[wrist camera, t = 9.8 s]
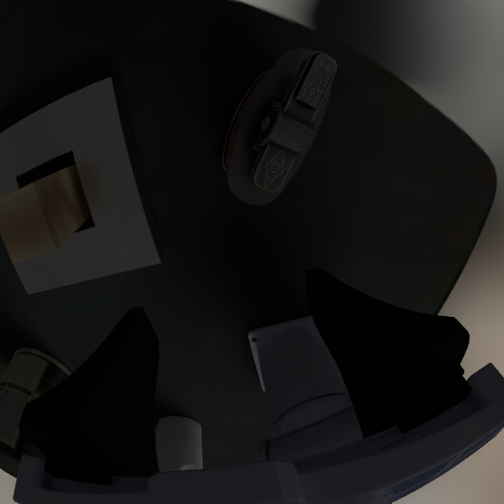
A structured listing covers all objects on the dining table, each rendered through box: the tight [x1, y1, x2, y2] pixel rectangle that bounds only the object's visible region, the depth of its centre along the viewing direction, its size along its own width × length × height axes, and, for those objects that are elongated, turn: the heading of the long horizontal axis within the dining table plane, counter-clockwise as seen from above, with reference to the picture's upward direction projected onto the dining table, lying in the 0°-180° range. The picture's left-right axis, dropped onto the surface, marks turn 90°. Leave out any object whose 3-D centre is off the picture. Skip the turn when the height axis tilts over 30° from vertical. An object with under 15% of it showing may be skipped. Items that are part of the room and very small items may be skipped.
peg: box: [0, 164, 92, 264], centre depth 16 cm, size 4×4×7 cm
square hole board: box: [0, 77, 166, 294], centre depth 17 cm, size 13×13×2 cm
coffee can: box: [0, 348, 72, 478], centre depth 20 cm, size 10×10×14 cm
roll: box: [156, 416, 203, 472], centre depth 27 cm, size 6×12×6 cm
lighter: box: [222, 48, 337, 205], centre depth 14 cm, size 8×3×10 cm, turn 156°
